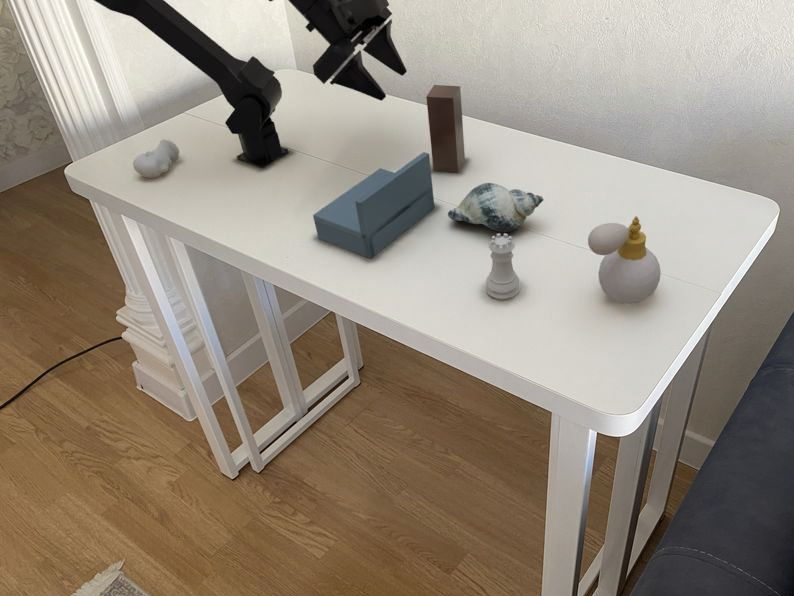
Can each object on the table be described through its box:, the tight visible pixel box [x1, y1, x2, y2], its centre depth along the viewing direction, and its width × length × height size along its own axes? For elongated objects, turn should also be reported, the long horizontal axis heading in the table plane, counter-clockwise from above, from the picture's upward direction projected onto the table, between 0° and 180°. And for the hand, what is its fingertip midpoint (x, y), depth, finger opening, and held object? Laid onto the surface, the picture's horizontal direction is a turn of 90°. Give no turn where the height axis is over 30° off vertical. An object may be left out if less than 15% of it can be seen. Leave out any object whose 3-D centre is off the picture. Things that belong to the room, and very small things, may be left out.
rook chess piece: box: [485, 232, 521, 300], centre depth 91 cm, size 4×4×8 cm
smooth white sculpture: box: [132, 139, 180, 179], centre depth 121 cm, size 4×8×5 cm
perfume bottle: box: [587, 216, 662, 305], centre depth 87 cm, size 8×10×12 cm
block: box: [425, 84, 466, 174], centre depth 114 cm, size 4×4×12 cm
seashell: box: [447, 182, 544, 233], centre depth 103 cm, size 6×8×12 cm
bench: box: [312, 151, 435, 260], centre depth 104 cm, size 10×15×9 cm, turn 145°
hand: (394, 85), depth 110 cm, fingers open, 9 cm apart
